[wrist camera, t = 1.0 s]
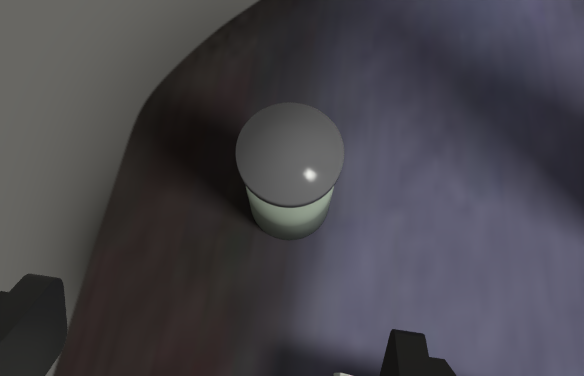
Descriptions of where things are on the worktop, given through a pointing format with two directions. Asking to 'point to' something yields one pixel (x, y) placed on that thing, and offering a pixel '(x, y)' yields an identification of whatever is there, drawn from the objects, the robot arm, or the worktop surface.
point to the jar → (289, 168)
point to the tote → (341, 374)
